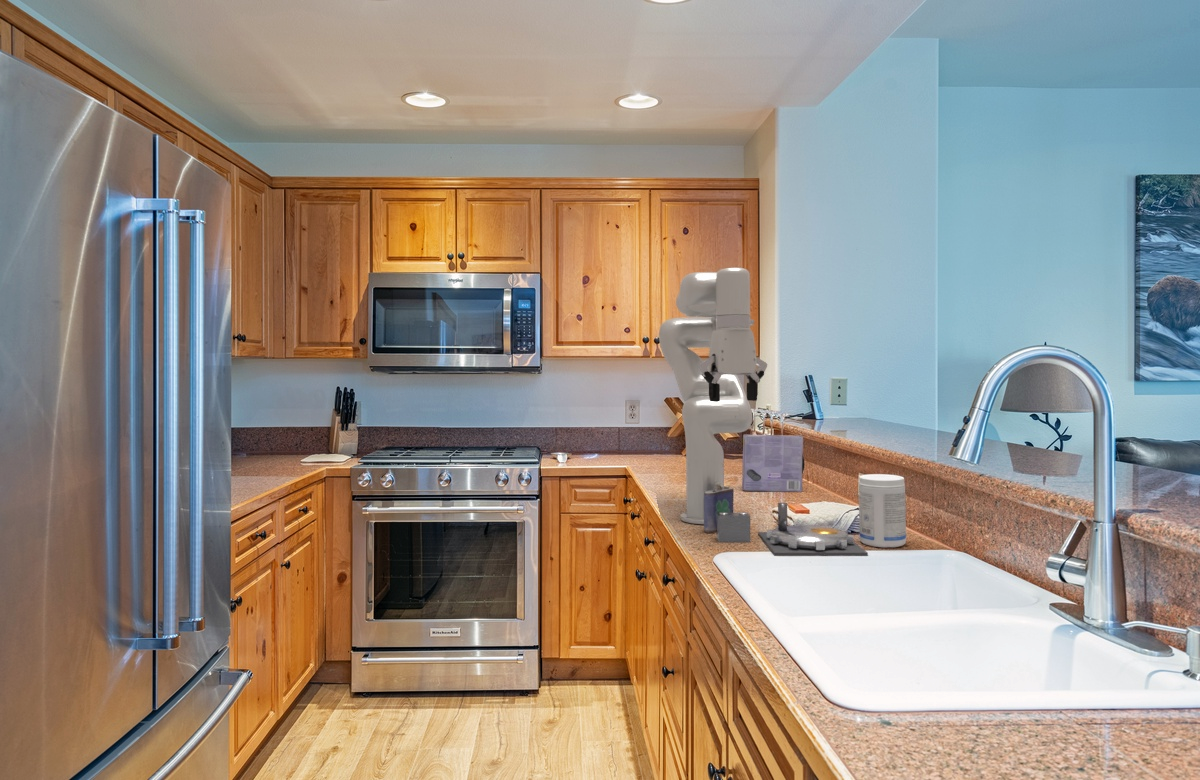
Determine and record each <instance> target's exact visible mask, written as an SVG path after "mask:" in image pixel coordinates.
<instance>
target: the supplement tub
mask: <svg viewBox="0 0 1200 780" xmlns="http://www.w3.org/2000/svg"><path fill="white" fill-rule="evenodd" d="M858 480H859V481H858V508H859V509H858V513H859V514H858V518H859V519H858V520H859V521H858V522H859V523H858V524H859V540H860V542H861V543H863V544H864V545H867V546H870V547H876V548H893V549H894V548H898V547H902V546H904V545H905V544H906V541H907V520H906V519H907V515H906V513H907V512H906V511H907V509H906V483H905V477H903V476H901V475H897V474H886V473H885V474H884V473H883V474H882V473H872V474H862V475H860V476H859V479H858Z"/></svg>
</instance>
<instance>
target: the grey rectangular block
mask: <svg viewBox="0 0 1200 780" xmlns="http://www.w3.org/2000/svg"><path fill="white" fill-rule="evenodd" d="M716 539H717V541H718V543H751V514H749V513H748V512H746V511H740V512H733V513H726V512H720V513H717V532H716Z"/></svg>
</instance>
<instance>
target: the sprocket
mask: <svg viewBox="0 0 1200 780" xmlns="http://www.w3.org/2000/svg"><path fill="white" fill-rule="evenodd" d="M777 512H778V513H777V525H776V526H775V527H774V529H767V530H766V532H767V538H770V542H772V543H774V544H775V543H780V544H784V545H788V547H790V548H799V547H800V548H815V549H816V550H825V548H835V547H838V548H845V547H847V543H854V542H855V540H854V537H855V535H854V534H849V531H848V530H846V529H837V528H835V527H834V528H833V527H830V526H829V525H823V524H822V525H806V524H804V523H803V524H800V523H797V524H795V525H788V503H787V502H778V503H777Z"/></svg>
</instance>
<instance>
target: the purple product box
mask: <svg viewBox="0 0 1200 780" xmlns="http://www.w3.org/2000/svg"><path fill="white" fill-rule="evenodd" d="M742 443H743V444H742V476H741V477H742V479H741V480H742V481H741V482H742V484H741V485H742V486H741V488H742V489H743V491H744V492H769V493H770V492H773V493H775V492H777V493H778V492H786V493H787V492H793V493H794V492H796V493H798V492H799V493H802V492H803V474H804V471H805V467H806V466H805V464H806V463H805V457H804V454H803V452H804V436H803V435H784V434H783V435H781V434H780V435H779V434H776V435H775V434H743V437H742Z"/></svg>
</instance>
